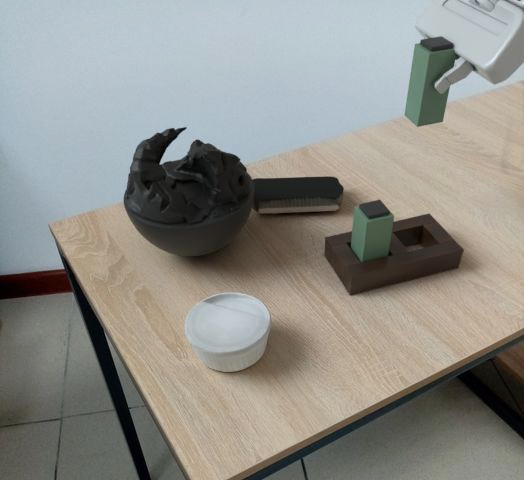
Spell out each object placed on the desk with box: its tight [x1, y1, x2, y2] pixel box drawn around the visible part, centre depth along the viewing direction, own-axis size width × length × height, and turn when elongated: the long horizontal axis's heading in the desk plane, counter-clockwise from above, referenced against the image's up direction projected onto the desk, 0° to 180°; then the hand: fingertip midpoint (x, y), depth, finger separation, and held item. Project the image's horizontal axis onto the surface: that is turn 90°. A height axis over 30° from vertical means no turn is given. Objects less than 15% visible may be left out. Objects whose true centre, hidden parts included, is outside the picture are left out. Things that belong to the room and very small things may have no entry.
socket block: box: [323, 213, 464, 296], centre depth 81 cm, size 10×18×4 cm, turn 107°
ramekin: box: [184, 291, 272, 373], centre depth 70 cm, size 11×11×5 cm
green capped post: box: [404, 36, 456, 128], centre depth 76 cm, size 4×4×11 cm
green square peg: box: [351, 199, 395, 263], centre depth 78 cm, size 4×4×11 cm
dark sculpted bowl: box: [123, 126, 254, 257], centre depth 81 cm, size 20×20×19 cm
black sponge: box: [252, 175, 345, 215], centre depth 93 cm, size 16×8×4 cm, turn 89°
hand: (426, 82), depth 76 cm, fingers closed on green capped post, 4 cm apart
